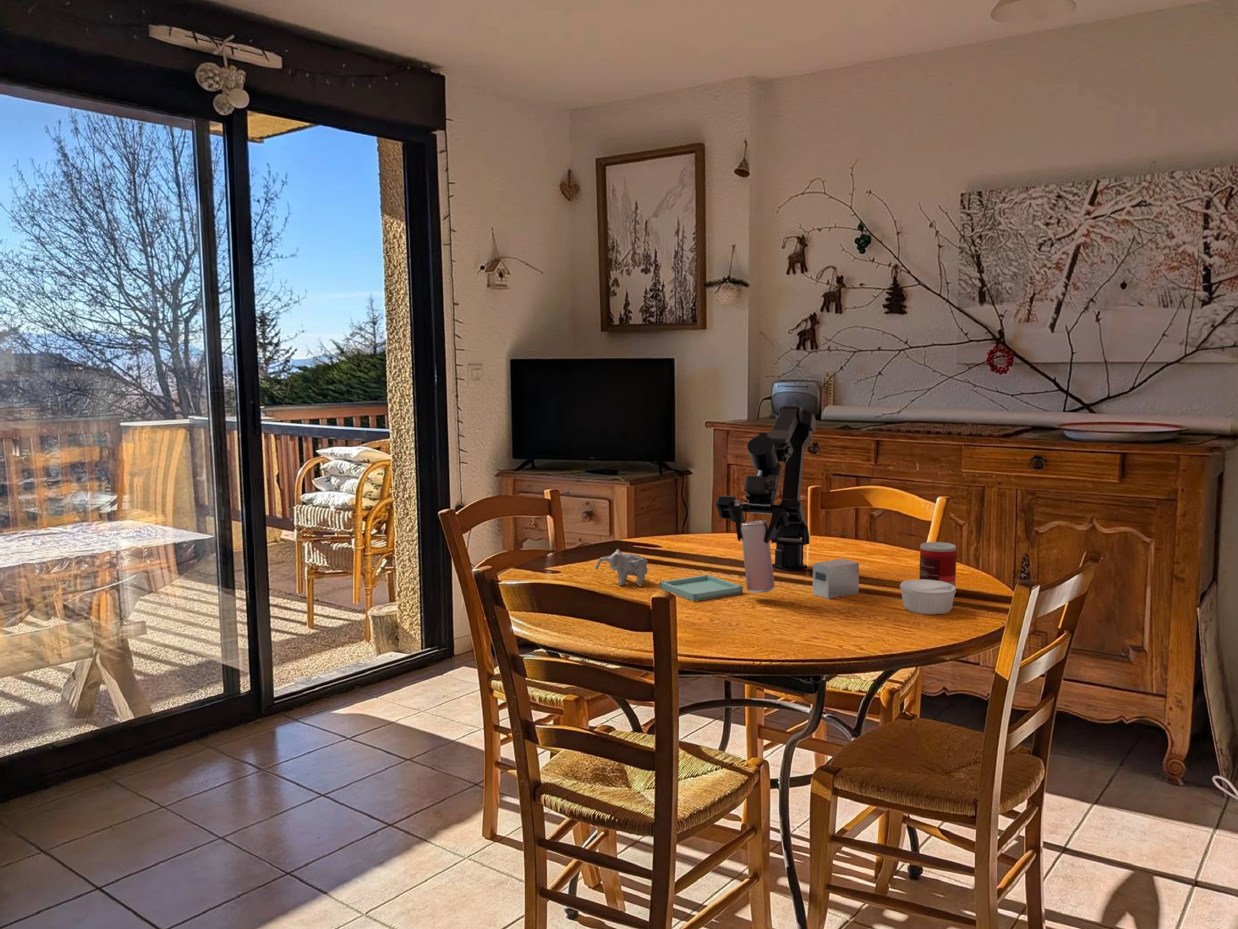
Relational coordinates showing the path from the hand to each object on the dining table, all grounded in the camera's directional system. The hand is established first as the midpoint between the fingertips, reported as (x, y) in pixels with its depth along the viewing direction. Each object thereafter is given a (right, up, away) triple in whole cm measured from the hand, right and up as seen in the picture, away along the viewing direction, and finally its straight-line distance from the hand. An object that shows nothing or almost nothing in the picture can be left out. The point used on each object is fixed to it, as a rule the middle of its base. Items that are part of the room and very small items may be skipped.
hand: (752, 541), depth 214 cm
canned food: (+42, -13, +7) cm, 44 cm away
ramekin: (+36, -14, -6) cm, 39 cm away
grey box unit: (+19, -12, +7) cm, 24 cm away
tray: (-10, -12, +10) cm, 19 cm away
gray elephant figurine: (-28, -12, +18) cm, 35 cm away
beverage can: (+2, -11, +2) cm, 11 cm away
